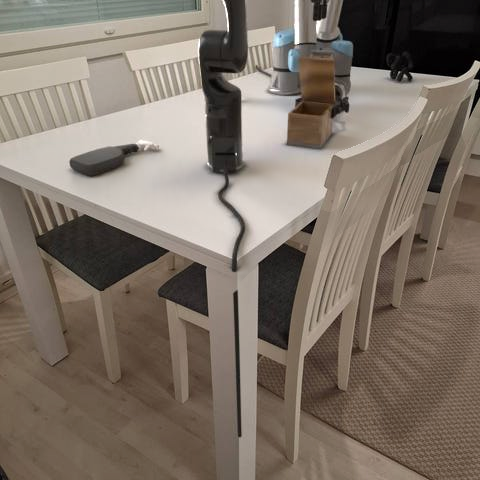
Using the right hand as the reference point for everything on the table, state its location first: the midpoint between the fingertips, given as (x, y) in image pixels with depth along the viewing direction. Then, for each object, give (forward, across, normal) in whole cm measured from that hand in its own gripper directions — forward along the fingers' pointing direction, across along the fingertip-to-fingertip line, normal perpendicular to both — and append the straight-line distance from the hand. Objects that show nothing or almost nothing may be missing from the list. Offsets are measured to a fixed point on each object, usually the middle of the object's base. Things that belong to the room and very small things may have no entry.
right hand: (315, 112), depth 136 cm
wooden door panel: (+1, 0, +9) cm, 9 cm away
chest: (+4, 0, -7) cm, 8 cm away
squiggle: (-85, -17, -7) cm, 87 cm away
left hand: (+2, 0, +26) cm, 26 cm away
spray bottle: (+39, +46, -7) cm, 61 cm away
